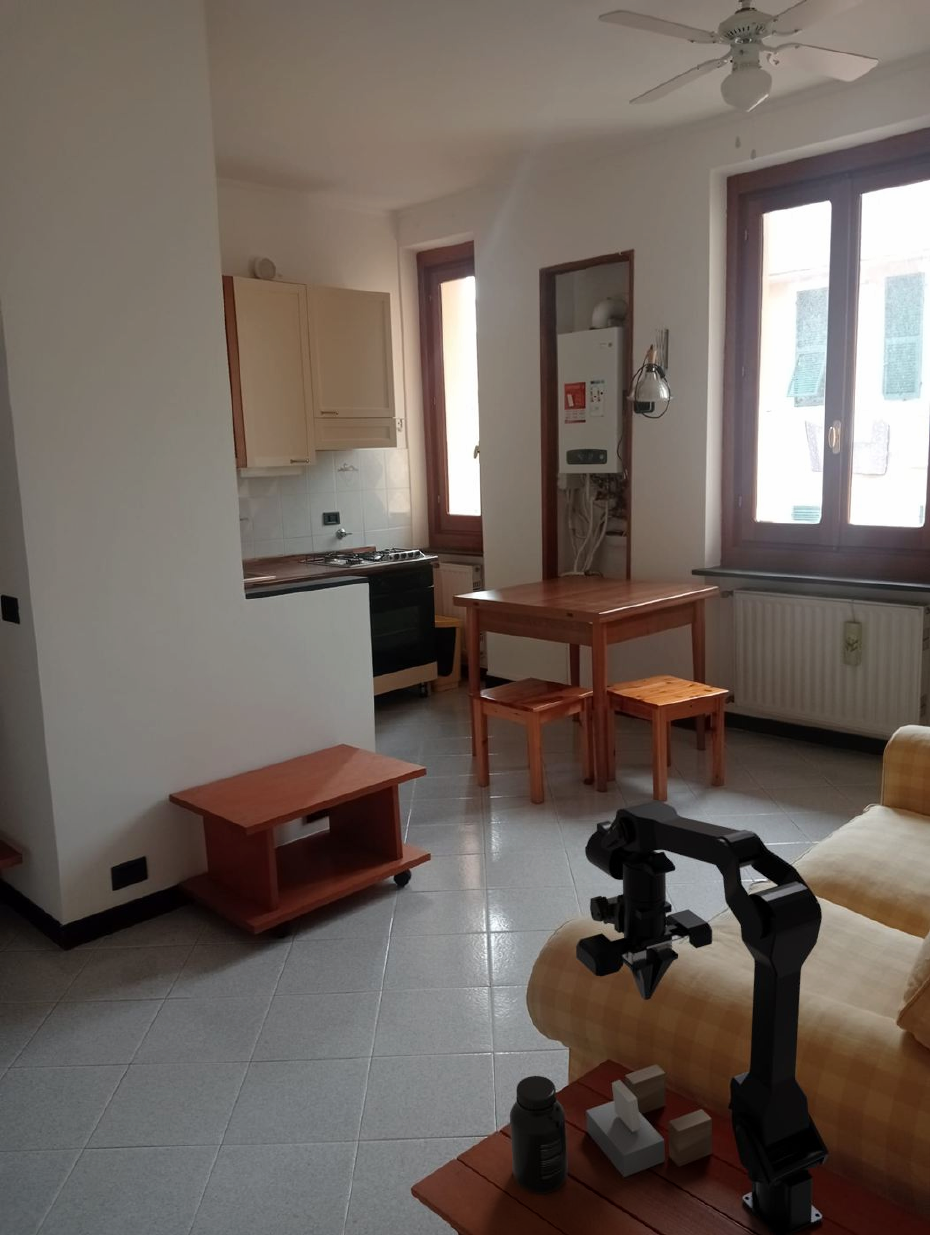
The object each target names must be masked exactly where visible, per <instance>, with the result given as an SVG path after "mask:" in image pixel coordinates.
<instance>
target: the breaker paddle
mask: <svg viewBox="0 0 930 1235" xmlns="http://www.w3.org/2000/svg"><path fill="white" fill-rule="evenodd" d="M611 1089H612V1096H613V1101H614V1106H615V1113H616V1114H617V1115H618V1116H619V1117H620V1118H621V1120H622V1121H623V1122H624V1123H625V1124H626V1125H627V1126H628V1128H629V1129H630V1130H631V1131H632V1132H634V1131H636V1130H638V1129H640V1120H639V1112H638V1103H637V1098H636V1097H635V1096H634V1095H633V1093H632V1092H631V1091H630V1090H629V1089H628V1088H627V1087H626V1086H625V1083H623V1082H622V1080H621V1079H618V1080H615V1081H613V1082H611Z"/></svg>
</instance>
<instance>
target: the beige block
mask: <svg viewBox="0 0 930 1235" xmlns="http://www.w3.org/2000/svg"><path fill="white" fill-rule="evenodd" d="M712 1123H713V1122H712V1118H711V1117H710V1115H708V1114H707V1113H706V1111H704V1110H703V1109H702V1108H701V1109H698V1110H695V1111H692V1112H690V1113H687V1114H685V1115H682V1116H680V1117H676V1118H674V1119H671V1120H669V1121H668V1148H669V1150H668V1156H669V1158H670V1159H671V1160H672V1161H673V1162H674V1163H675V1164H676V1166H677V1167H683V1166H685V1165H688V1164H690V1163H692V1162H695V1161H697V1160H700V1159H703V1158H704V1157H705V1158H706V1157H707V1156H710V1155H712V1152H713V1149H712V1146H713V1145H712V1143H713V1141H712V1140H713V1139H712V1138H713V1136H712V1133H713V1131H712V1130H713V1129H712V1127H713V1126H712V1125H713V1124H712Z"/></svg>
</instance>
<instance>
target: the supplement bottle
mask: <svg viewBox="0 0 930 1235" xmlns="http://www.w3.org/2000/svg"><path fill="white" fill-rule="evenodd" d="M556 1091H557V1090H556V1086H555V1083H554V1082H553V1080H550V1079H549V1078H547V1077H545V1076H542V1075H532V1076H527V1077H524V1078H523V1079H521V1081H519V1082H518V1083H517V1085H516V1091H515V1092H516V1099H515V1102H514V1103H513V1105H512V1107H511V1109H510V1112H509V1124H510V1125H509V1127H510V1141H511V1142H510V1143H511V1158H512V1160H511V1161H512V1173H513V1177H514V1179H515V1182H517V1184H518V1186H520V1187H521V1188H522V1189H523V1190H525V1191H527V1192H530V1193H534V1194H547V1193H551V1192H554V1191H556V1190H558V1189H559V1188H560V1187H561V1186H562V1185H563V1184H564V1183H565V1181H566V1180H567V1177H568V1173H569V1172H568V1171H569V1170H568V1147H567V1146H568V1145H567V1124H566V1114H565V1109H564V1107H563V1106H562V1104H561V1103H560V1102H559V1101H558V1100H557V1092H556Z"/></svg>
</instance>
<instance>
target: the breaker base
mask: <svg viewBox="0 0 930 1235" xmlns="http://www.w3.org/2000/svg"><path fill="white" fill-rule="evenodd" d="M638 1112H639V1111H638ZM585 1114H586V1115H585V1117H586V1118H585V1119H586V1122H585V1123H586V1132H587V1133H588V1134H589V1136H590V1137H591V1138H592V1139H593V1141H594V1142H595V1143H596V1144H597V1145H598V1147H599V1148H600V1149H601V1151H602V1152H603V1153H604V1154H605V1156H606V1157H607V1158H608V1159H609V1161H610V1162H611V1163H612V1164H613V1165H614V1167H615V1168H616V1169H617V1171H618V1172H619V1173H620V1174H621V1175H622V1177H623V1178H626V1177H629V1176H631V1175H633V1174H636V1173H638V1172H641V1171H644V1170H646V1169H648V1168H652V1167H654V1166H656V1165H659V1164H662V1163H664V1162H665V1161H666V1153H665V1152H666V1149H665V1148H666V1142H665V1141H666V1140H665V1139H664V1138H663V1136H662V1135H661V1134H660V1133H659V1132H658V1131H657V1130H656V1129H655V1128H654V1127H653V1125H652V1124H651V1123H650V1122H649V1120H648V1119H646V1118H645V1117H644V1115H643V1114H641V1113H640V1112H639V1120H640V1129H638V1130H636V1131H634V1132H632V1131H631V1130H630V1129H629V1128H628V1126H627V1125H626V1124H625V1123H624V1122H623V1121H622V1120H621V1118H620V1117H619V1116H618V1115H617V1114H616V1113H615V1106H614V1100H612V1101H609V1102H607V1103H604V1104H601V1105H598V1106H595V1107H592V1108H589V1109H587V1110H585Z"/></svg>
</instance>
